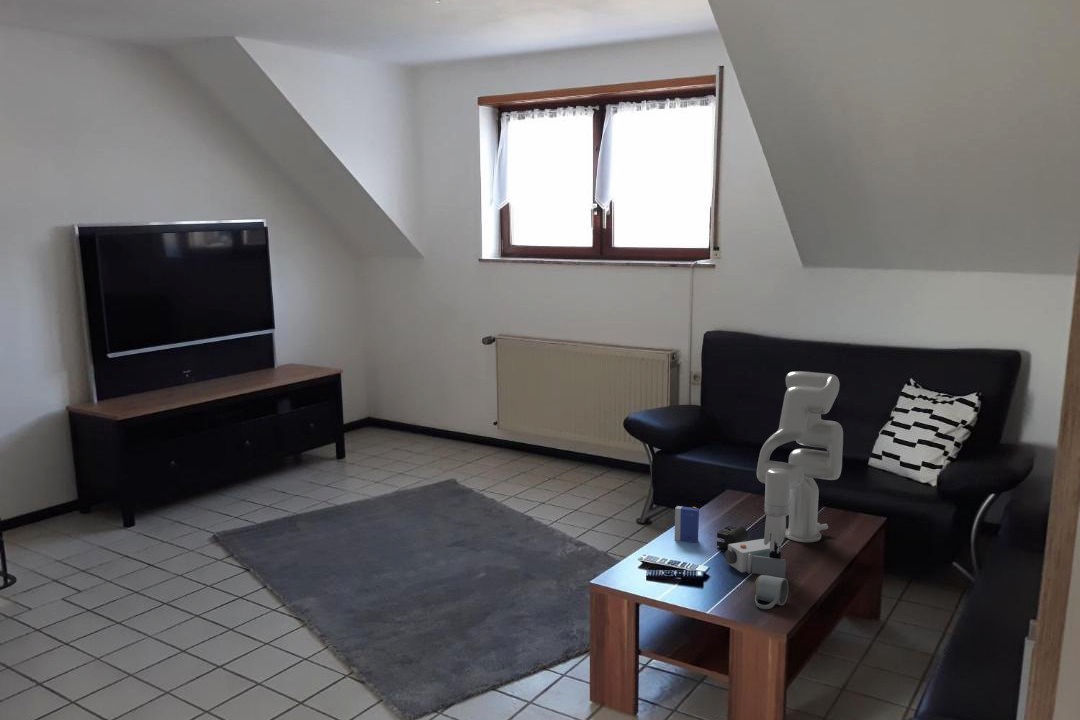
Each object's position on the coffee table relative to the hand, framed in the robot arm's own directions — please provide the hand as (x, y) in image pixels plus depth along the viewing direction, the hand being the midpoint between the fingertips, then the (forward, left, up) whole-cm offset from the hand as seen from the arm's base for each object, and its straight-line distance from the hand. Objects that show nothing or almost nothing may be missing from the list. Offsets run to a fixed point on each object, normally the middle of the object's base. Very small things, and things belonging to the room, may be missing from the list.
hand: (774, 563), depth 270 cm
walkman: (+11, -35, -4) cm, 37 cm away
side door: (+3, 0, -3) cm, 5 cm away
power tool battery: (0, -23, -4) cm, 24 cm away
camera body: (+2, -8, -3) cm, 9 cm away
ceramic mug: (+14, +17, -4) cm, 23 cm away
